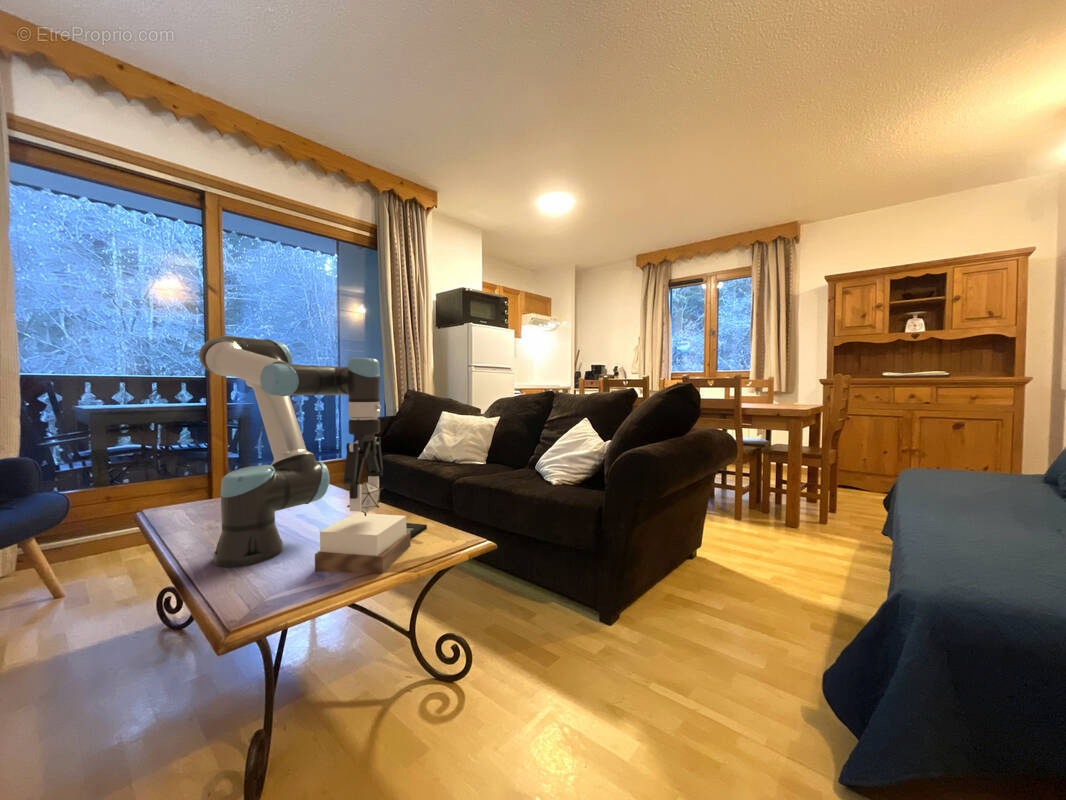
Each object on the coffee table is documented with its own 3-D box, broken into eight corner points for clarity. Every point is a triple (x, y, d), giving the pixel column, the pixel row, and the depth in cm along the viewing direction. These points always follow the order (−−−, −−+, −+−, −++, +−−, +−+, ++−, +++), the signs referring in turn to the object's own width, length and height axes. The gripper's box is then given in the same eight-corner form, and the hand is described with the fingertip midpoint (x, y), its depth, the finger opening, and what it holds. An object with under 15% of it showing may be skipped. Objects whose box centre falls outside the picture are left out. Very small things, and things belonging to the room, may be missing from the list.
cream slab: (320, 551, 101) (319, 531, 100) (356, 530, 115) (355, 512, 115) (377, 556, 98) (377, 535, 98) (406, 533, 113) (406, 515, 113)
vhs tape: (377, 545, 117) (377, 538, 117) (405, 529, 131) (405, 522, 131) (401, 548, 115) (401, 541, 115) (426, 531, 129) (426, 524, 129)
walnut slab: (315, 574, 99) (314, 554, 99) (352, 547, 116) (351, 529, 116) (383, 577, 98) (382, 556, 98) (410, 549, 115) (410, 531, 115)
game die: (374, 522, 102) (374, 482, 102) (340, 522, 103) (340, 482, 102) (388, 511, 111) (387, 474, 111) (356, 511, 111) (356, 474, 111)
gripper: (357, 422, 95) (358, 519, 96) (395, 415, 117) (396, 494, 117) (326, 421, 96) (327, 518, 96) (370, 415, 117) (370, 494, 118)
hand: (365, 505), depth 107 cm, fingers closed on game die, 9 cm apart
